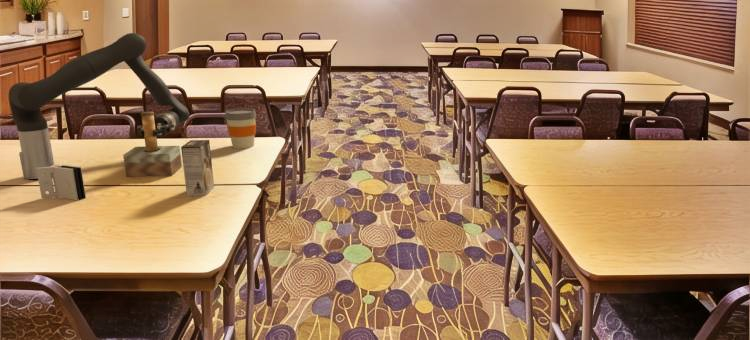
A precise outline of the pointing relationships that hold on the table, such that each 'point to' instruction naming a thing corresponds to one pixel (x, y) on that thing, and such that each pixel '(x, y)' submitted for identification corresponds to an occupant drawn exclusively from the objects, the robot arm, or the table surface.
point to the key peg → (149, 131)
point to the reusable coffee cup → (241, 127)
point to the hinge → (61, 182)
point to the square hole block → (152, 161)
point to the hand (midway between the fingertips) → (147, 134)
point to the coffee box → (197, 167)
